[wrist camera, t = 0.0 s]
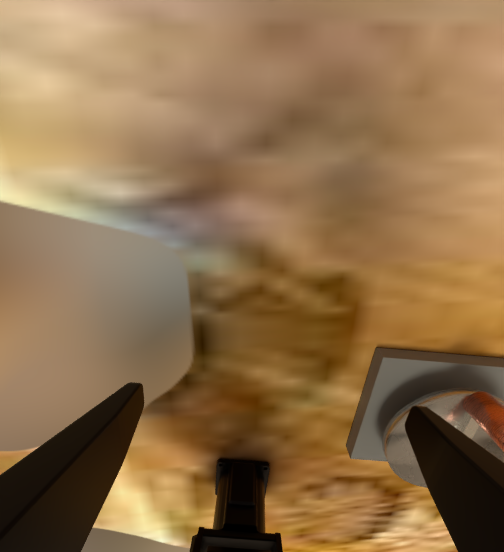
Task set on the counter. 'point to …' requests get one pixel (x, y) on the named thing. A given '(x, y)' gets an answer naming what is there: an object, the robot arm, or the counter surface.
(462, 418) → the handwheel
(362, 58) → the counter surface
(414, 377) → the base plate
